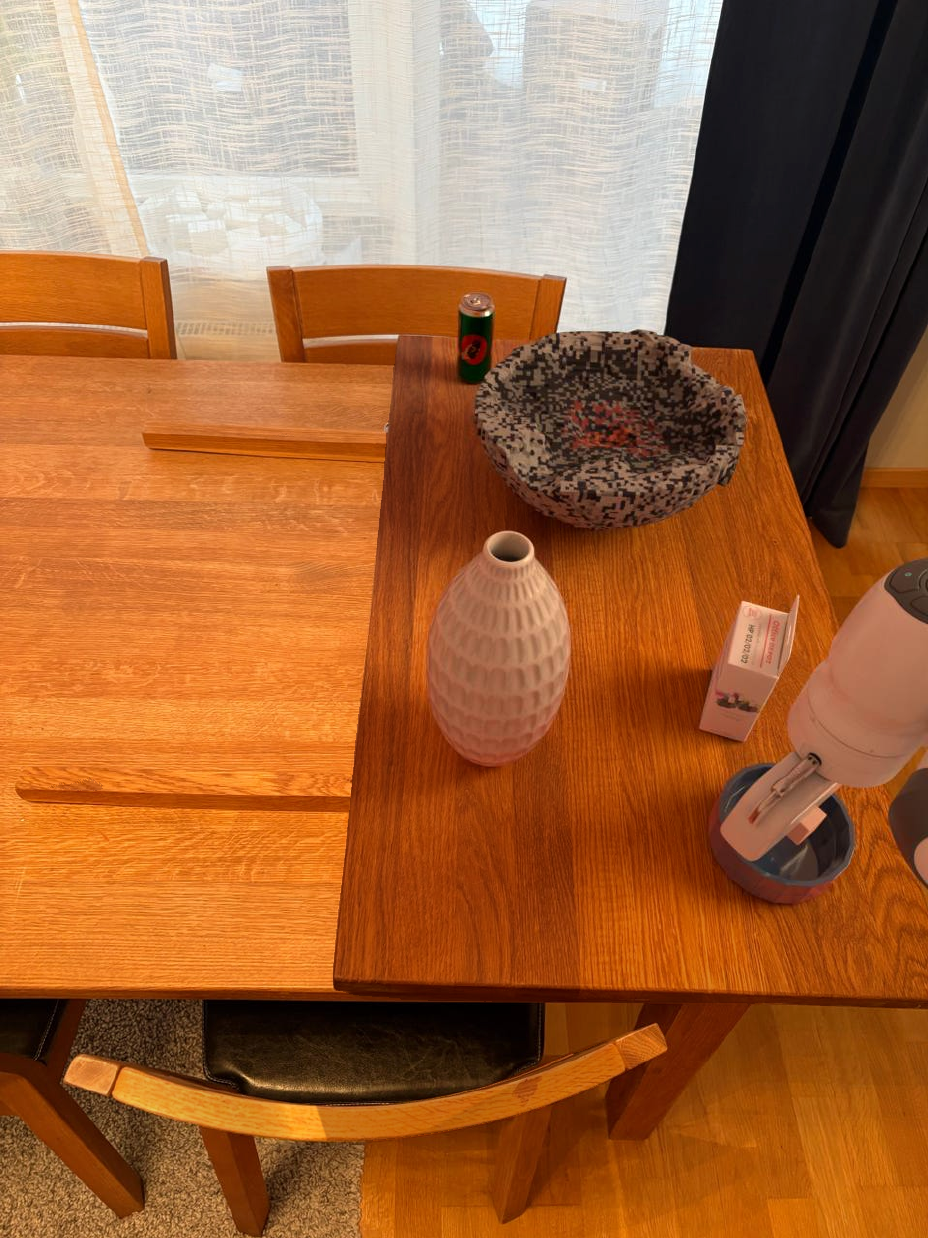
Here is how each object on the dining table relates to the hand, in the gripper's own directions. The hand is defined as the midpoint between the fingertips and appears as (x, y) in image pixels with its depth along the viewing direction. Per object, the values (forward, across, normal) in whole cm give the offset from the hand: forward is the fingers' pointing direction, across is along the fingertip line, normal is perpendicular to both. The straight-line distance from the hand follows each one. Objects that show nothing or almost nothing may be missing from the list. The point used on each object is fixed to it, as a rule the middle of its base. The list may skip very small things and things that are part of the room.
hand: (790, 809), depth 75 cm
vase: (+7, -14, +24) cm, 29 cm away
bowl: (+7, +20, +45) cm, 50 cm away
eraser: (+2, 0, 0) cm, 2 cm away
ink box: (+7, +9, +12) cm, 17 cm away
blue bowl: (+7, 0, 0) cm, 7 cm away
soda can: (+7, +23, +74) cm, 78 cm away
